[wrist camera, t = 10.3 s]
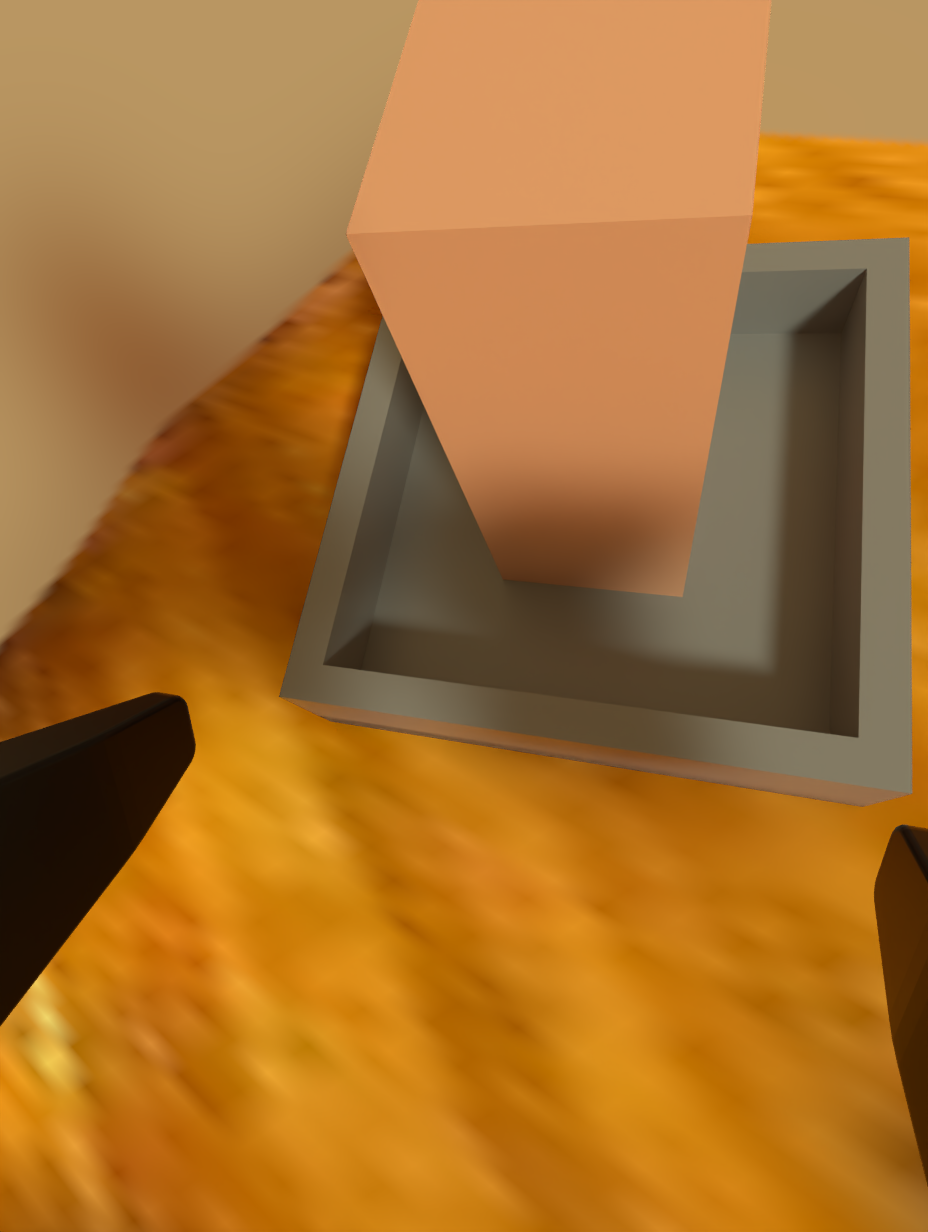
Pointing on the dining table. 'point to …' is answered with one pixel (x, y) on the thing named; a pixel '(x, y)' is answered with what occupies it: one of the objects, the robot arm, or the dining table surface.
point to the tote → (648, 623)
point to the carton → (569, 263)
